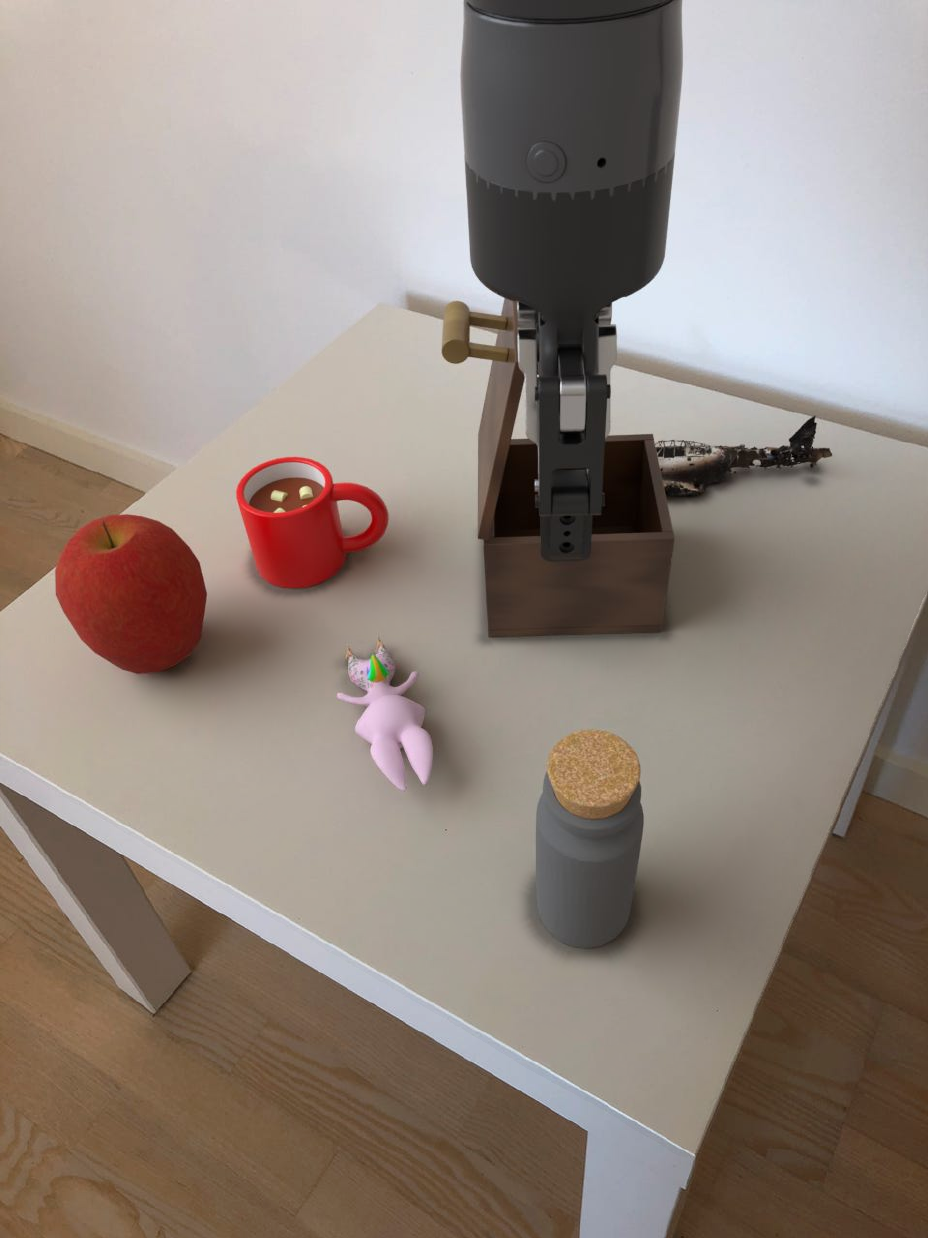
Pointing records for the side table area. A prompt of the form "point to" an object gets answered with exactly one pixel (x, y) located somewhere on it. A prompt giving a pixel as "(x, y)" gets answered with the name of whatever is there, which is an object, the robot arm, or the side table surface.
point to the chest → (613, 573)
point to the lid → (489, 393)
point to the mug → (302, 520)
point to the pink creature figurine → (389, 718)
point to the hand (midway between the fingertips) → (561, 495)
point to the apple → (132, 592)
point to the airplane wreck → (730, 460)
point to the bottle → (588, 838)
